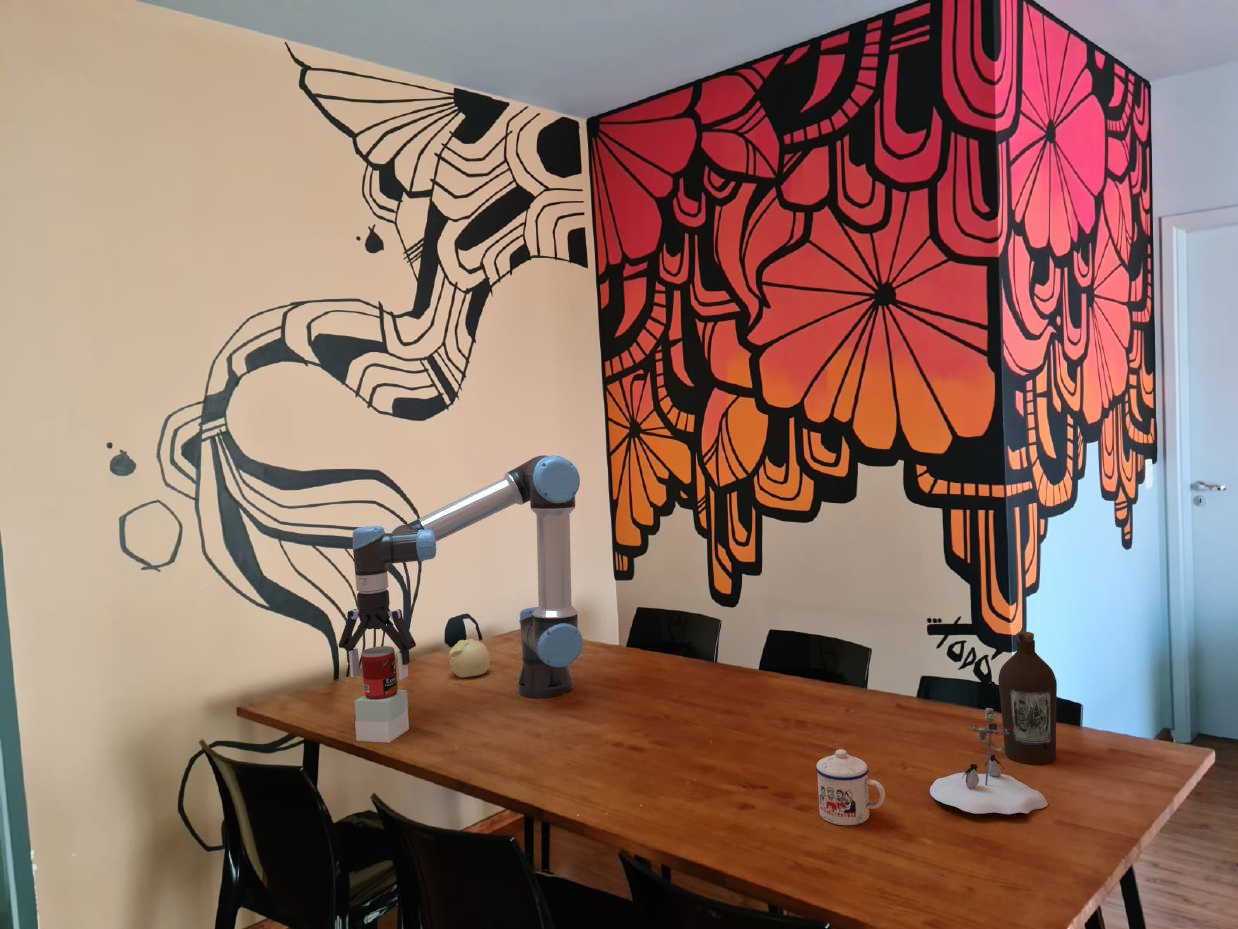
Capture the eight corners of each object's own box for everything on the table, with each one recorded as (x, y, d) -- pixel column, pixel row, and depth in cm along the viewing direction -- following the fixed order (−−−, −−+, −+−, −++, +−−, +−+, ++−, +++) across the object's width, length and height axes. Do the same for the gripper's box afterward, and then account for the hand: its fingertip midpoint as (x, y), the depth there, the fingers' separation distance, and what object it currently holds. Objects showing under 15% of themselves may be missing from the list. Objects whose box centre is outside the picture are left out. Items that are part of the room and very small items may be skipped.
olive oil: (998, 744, 182) (993, 626, 181) (1054, 747, 179) (1049, 627, 178) (1004, 764, 172) (999, 639, 171) (1064, 768, 169) (1059, 640, 168)
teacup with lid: (810, 820, 154) (806, 755, 154) (829, 800, 162) (826, 738, 161) (877, 835, 147) (874, 767, 147) (894, 813, 155) (891, 749, 154)
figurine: (984, 828, 145) (986, 730, 145) (907, 790, 162) (909, 703, 162) (1070, 812, 153) (1071, 719, 153) (988, 778, 170) (990, 694, 170)
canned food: (390, 699, 208) (386, 654, 207) (359, 700, 209) (355, 655, 209) (403, 689, 215) (399, 645, 215) (373, 690, 217) (369, 646, 216)
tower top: (408, 709, 215) (406, 689, 215) (389, 722, 207) (388, 701, 207) (375, 708, 218) (374, 689, 218) (356, 721, 209) (354, 700, 209)
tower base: (409, 729, 216) (407, 709, 215) (389, 743, 207) (387, 722, 207) (377, 728, 218) (375, 708, 218) (356, 741, 210) (355, 721, 209)
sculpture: (457, 669, 266) (454, 635, 266) (495, 669, 265) (492, 634, 264) (444, 681, 255) (441, 644, 255) (484, 680, 253) (481, 643, 253)
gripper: (319, 593, 211) (326, 680, 212) (409, 593, 204) (416, 683, 205) (338, 587, 218) (345, 671, 220) (426, 587, 211) (432, 673, 212)
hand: (379, 677), depth 212 cm, fingers open, 13 cm apart
